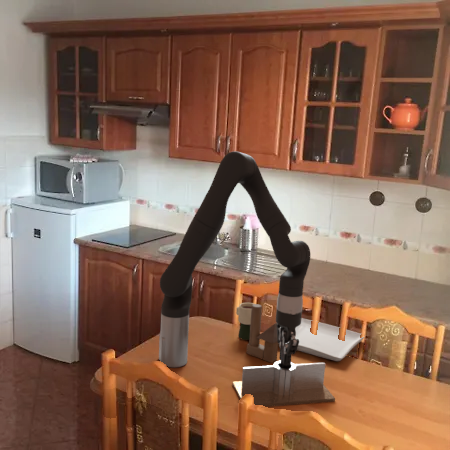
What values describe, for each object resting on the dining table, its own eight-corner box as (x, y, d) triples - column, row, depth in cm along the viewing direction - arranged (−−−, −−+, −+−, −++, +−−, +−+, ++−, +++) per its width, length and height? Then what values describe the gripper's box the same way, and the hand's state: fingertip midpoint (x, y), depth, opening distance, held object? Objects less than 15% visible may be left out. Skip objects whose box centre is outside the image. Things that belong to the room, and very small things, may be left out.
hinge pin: (281, 375, 159) (284, 344, 157) (278, 371, 162) (280, 340, 160) (290, 375, 160) (292, 343, 158) (287, 370, 162) (289, 340, 160)
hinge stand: (244, 408, 152) (246, 379, 150) (232, 384, 165) (234, 357, 163) (334, 401, 159) (337, 373, 157) (316, 378, 172) (318, 353, 170)
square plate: (341, 368, 181) (342, 357, 180) (269, 347, 195) (270, 337, 194) (365, 342, 204) (366, 333, 203) (300, 325, 218) (300, 316, 217)
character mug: (263, 340, 200) (266, 307, 198) (252, 345, 195) (254, 311, 192) (241, 331, 207) (242, 299, 204) (229, 336, 202) (231, 304, 199)
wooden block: (271, 363, 181) (275, 313, 178) (245, 353, 188) (249, 305, 184) (277, 359, 184) (281, 310, 181) (251, 350, 191) (255, 302, 187)
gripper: (269, 300, 162) (266, 353, 166) (285, 317, 149) (280, 374, 152) (293, 299, 164) (288, 351, 167) (310, 316, 151) (305, 372, 154)
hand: (285, 362), depth 160 cm, fingers closed on hinge pin, 2 cm apart
